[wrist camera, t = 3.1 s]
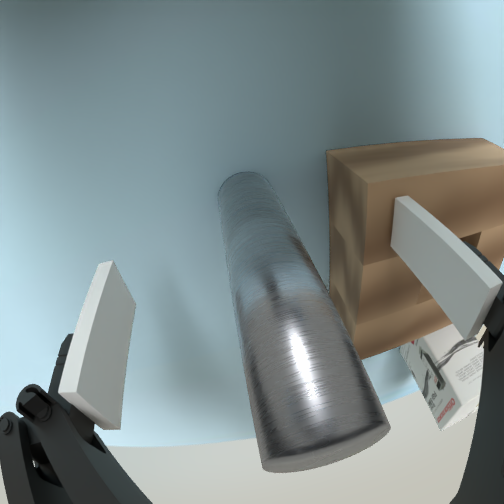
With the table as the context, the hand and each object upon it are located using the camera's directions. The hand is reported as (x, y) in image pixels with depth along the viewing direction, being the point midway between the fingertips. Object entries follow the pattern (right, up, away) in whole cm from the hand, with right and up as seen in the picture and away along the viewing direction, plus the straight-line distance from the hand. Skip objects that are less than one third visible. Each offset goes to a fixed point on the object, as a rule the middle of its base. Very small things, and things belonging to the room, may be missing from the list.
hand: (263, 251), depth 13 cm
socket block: (+12, +2, +7) cm, 14 cm away
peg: (-1, +3, +4) cm, 5 cm away
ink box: (+18, -8, +15) cm, 25 cm away
